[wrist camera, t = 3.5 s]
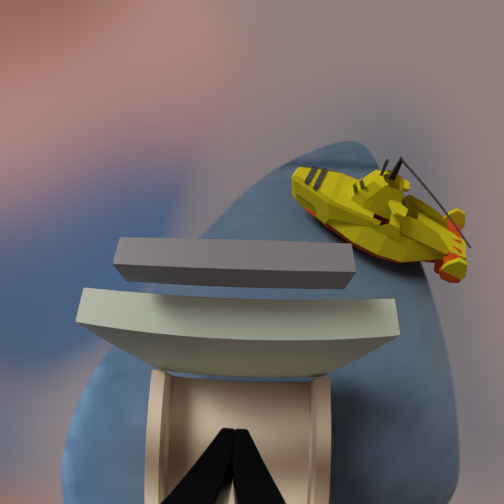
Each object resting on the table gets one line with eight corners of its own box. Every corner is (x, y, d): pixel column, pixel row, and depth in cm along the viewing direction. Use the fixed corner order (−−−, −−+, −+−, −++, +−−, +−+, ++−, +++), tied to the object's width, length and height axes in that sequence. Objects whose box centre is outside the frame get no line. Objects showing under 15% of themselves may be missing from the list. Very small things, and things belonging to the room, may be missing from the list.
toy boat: (444, 303, 22) (509, 244, 14) (275, 230, 26) (286, 140, 18) (447, 253, 25) (497, 190, 17) (299, 188, 29) (313, 105, 21)
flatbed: (318, 527, 12) (337, 553, 8) (167, 522, 12) (146, 546, 8) (322, 385, 18) (343, 375, 14) (173, 381, 18) (152, 369, 14)
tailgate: (322, 376, 16) (432, 314, 6) (161, 370, 16) (43, 299, 6) (321, 346, 17) (415, 246, 7) (164, 340, 17) (64, 236, 7)
